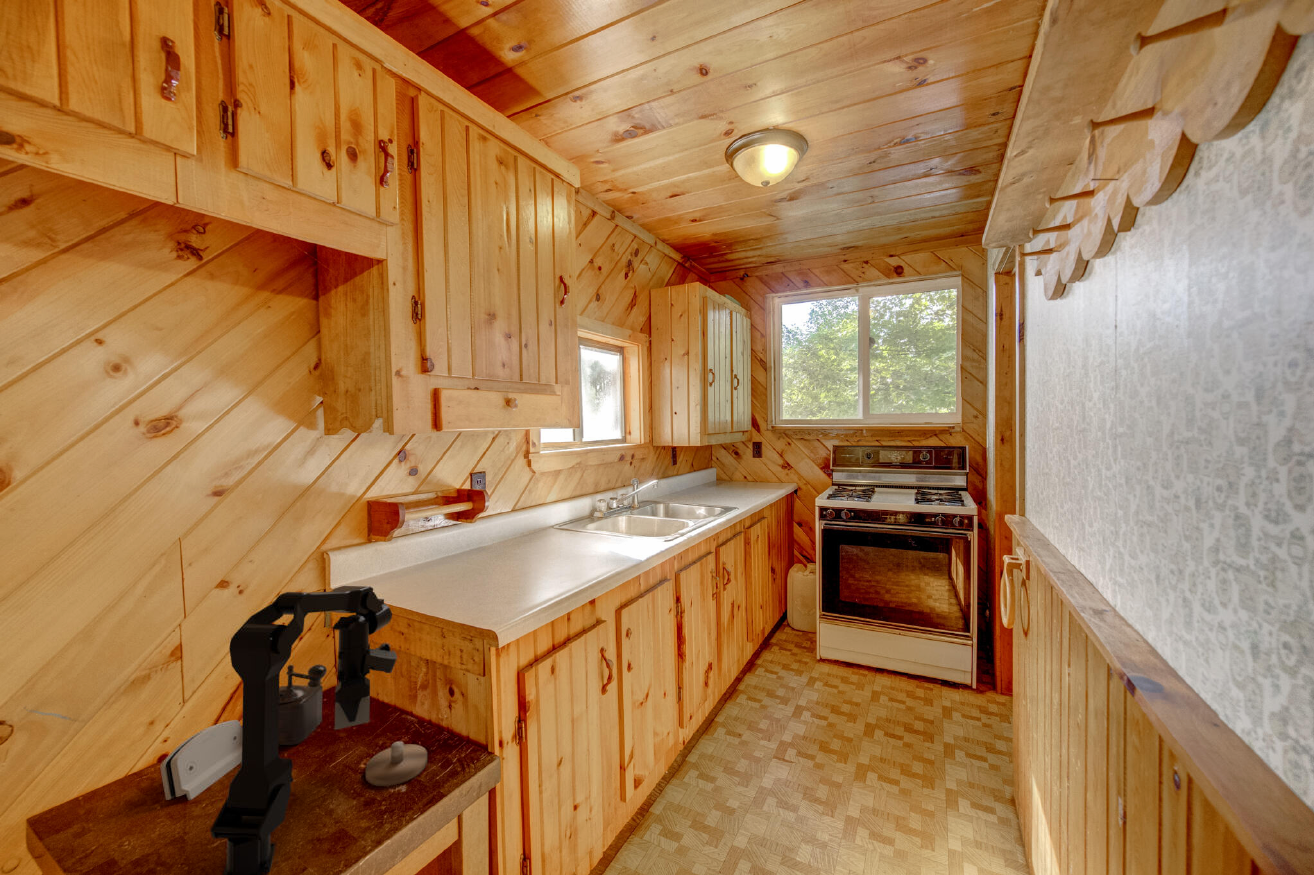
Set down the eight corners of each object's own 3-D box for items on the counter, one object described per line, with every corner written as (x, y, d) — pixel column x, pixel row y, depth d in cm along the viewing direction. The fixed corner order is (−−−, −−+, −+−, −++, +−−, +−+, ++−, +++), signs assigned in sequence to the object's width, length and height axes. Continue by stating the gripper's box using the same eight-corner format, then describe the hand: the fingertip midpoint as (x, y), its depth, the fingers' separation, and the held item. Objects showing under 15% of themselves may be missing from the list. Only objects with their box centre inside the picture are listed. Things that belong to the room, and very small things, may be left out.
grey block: (369, 722, 112) (369, 699, 112) (334, 730, 109) (335, 706, 109) (368, 708, 118) (369, 686, 118) (335, 715, 114) (336, 693, 114)
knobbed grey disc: (429, 775, 110) (430, 751, 110) (365, 793, 104) (365, 768, 104) (424, 745, 120) (424, 724, 120) (365, 760, 114) (365, 738, 114)
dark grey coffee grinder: (248, 749, 118) (249, 671, 118) (279, 722, 129) (280, 650, 129) (319, 746, 119) (321, 669, 119) (344, 720, 130) (345, 649, 130)
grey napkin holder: (189, 801, 101) (173, 752, 101) (167, 808, 101) (151, 760, 101) (257, 749, 118) (244, 708, 118) (238, 756, 118) (225, 714, 118)
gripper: (397, 652, 109) (396, 725, 109) (392, 623, 125) (391, 687, 125) (335, 662, 104) (334, 740, 104) (338, 631, 120) (337, 698, 120)
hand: (352, 714), depth 113 cm, fingers closed on grey block, 6 cm apart
